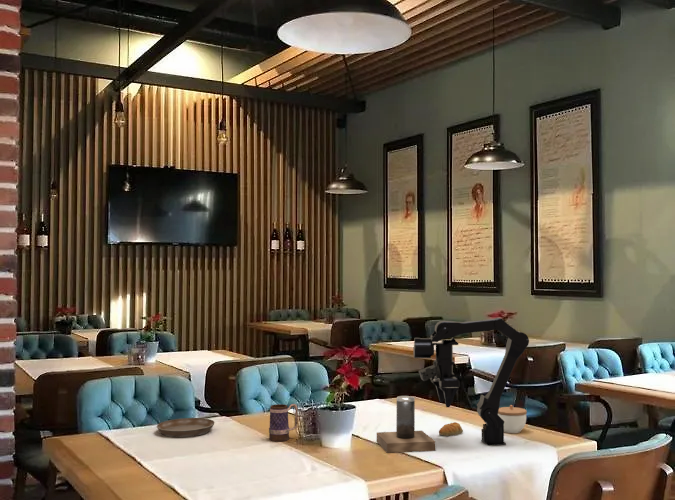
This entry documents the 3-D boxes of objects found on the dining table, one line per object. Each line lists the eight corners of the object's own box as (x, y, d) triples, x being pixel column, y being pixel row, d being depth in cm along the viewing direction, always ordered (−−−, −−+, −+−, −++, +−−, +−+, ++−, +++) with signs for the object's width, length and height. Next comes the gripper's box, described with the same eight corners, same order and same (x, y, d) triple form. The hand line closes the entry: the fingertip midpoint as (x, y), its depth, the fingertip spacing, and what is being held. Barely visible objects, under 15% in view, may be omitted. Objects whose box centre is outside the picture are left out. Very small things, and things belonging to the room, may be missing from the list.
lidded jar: (530, 430, 268) (530, 404, 268) (521, 436, 259) (520, 409, 259) (502, 426, 274) (502, 401, 274) (491, 432, 265) (491, 406, 265)
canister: (416, 435, 248) (416, 396, 248) (411, 439, 242) (412, 399, 242) (399, 434, 250) (399, 395, 250) (394, 437, 244) (394, 398, 244)
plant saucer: (156, 440, 256) (156, 431, 256) (156, 428, 276) (156, 419, 276) (216, 437, 261) (216, 427, 261) (212, 425, 281) (212, 416, 281)
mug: (270, 442, 252) (270, 407, 252) (267, 437, 259) (267, 403, 259) (300, 440, 254) (299, 405, 254) (296, 436, 261) (296, 401, 261)
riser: (422, 439, 255) (421, 430, 255) (435, 450, 239) (435, 441, 239) (376, 441, 252) (376, 432, 252) (387, 453, 237) (387, 443, 237)
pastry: (450, 438, 257) (449, 427, 257) (433, 435, 262) (433, 424, 262) (464, 433, 264) (464, 423, 264) (448, 431, 269) (448, 420, 269)
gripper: (415, 355, 258) (415, 400, 258) (426, 362, 240) (426, 410, 239) (446, 354, 259) (446, 399, 259) (460, 361, 241) (460, 409, 240)
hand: (444, 404), depth 249 cm, fingers open, 9 cm apart
